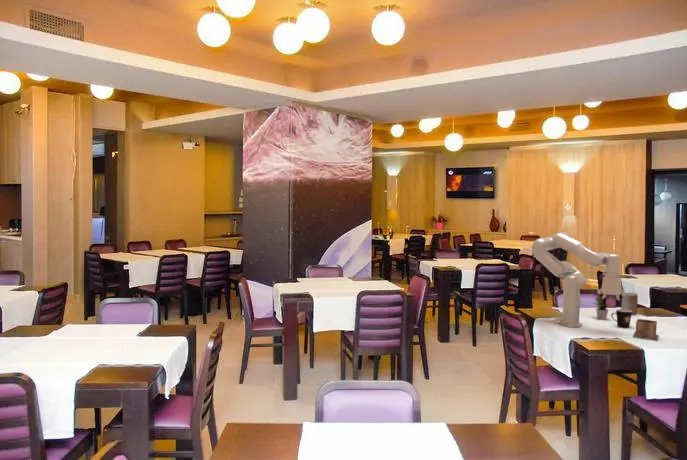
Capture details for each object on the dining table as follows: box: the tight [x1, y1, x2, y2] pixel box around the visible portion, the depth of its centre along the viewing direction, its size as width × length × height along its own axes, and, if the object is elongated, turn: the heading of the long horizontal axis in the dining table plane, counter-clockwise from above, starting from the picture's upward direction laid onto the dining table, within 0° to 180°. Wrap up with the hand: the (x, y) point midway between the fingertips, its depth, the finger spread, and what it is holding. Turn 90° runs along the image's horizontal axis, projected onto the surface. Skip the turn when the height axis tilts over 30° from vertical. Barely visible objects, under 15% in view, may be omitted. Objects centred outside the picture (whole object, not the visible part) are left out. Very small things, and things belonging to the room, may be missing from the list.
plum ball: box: [605, 296, 617, 308], centre depth 321 cm, size 6×6×6 cm
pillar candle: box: [620, 292, 639, 316], centre depth 373 cm, size 10×10×15 cm
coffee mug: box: [611, 308, 633, 329], centre depth 336 cm, size 12×9×10 cm
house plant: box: [591, 294, 609, 320], centre depth 357 cm, size 14×14×16 cm
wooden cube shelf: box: [632, 318, 660, 341], centre depth 312 cm, size 12×12×9 cm
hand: (610, 305), depth 321 cm, fingers closed on plum ball, 5 cm apart
